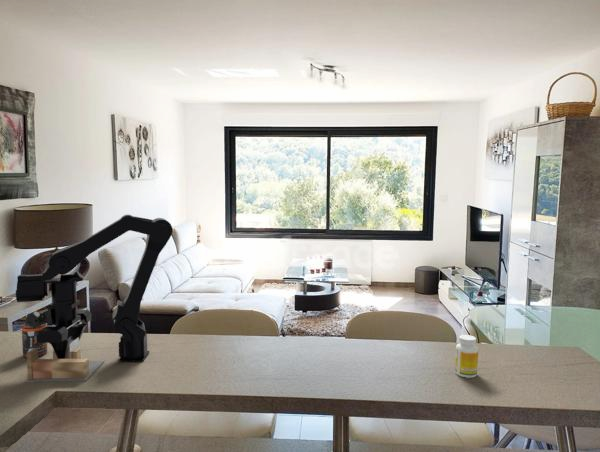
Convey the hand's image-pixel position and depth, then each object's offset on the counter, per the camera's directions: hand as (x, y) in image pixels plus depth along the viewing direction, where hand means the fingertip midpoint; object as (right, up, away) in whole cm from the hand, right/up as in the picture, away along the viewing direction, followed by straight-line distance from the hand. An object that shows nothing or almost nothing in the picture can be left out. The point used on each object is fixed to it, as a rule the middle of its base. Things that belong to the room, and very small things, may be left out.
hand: (67, 357), depth 119 cm
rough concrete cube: (0, 0, 0) cm, 0 cm away
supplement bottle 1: (-13, -2, +8) cm, 15 cm away
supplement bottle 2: (+103, -4, -3) cm, 103 cm away
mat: (+2, -3, -3) cm, 4 cm away
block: (+1, -2, -3) cm, 4 cm away
